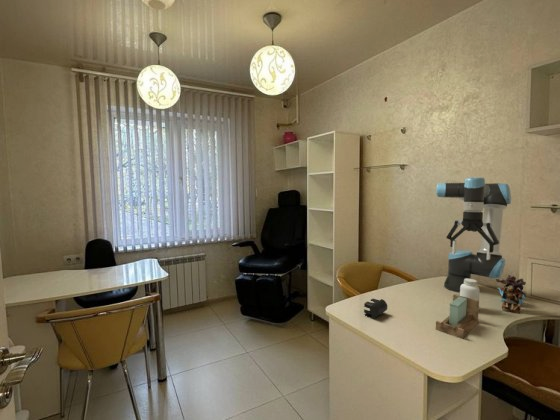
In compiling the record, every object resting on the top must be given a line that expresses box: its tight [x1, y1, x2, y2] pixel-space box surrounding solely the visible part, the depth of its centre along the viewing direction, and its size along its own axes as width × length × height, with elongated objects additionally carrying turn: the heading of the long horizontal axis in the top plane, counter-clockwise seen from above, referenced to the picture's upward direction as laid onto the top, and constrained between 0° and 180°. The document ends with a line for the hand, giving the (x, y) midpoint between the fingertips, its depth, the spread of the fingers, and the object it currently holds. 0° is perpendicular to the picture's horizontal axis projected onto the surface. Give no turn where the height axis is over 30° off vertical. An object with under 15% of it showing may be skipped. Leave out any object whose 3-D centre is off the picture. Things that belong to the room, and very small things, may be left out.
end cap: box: [363, 298, 388, 319], centre depth 132 cm, size 10×7×7 cm
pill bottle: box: [459, 278, 481, 301], centre depth 139 cm, size 8×8×15 cm
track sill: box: [435, 294, 480, 340], centre depth 122 cm, size 10×22×10 cm, turn 131°
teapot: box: [497, 287, 526, 306], centre depth 147 cm, size 12×6×8 cm, turn 35°
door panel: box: [449, 297, 467, 326], centre depth 122 cm, size 3×12×10 cm, turn 131°
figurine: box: [495, 274, 527, 314], centre depth 137 cm, size 11×9×18 cm
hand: (470, 256), depth 129 cm, fingers open, 13 cm apart
